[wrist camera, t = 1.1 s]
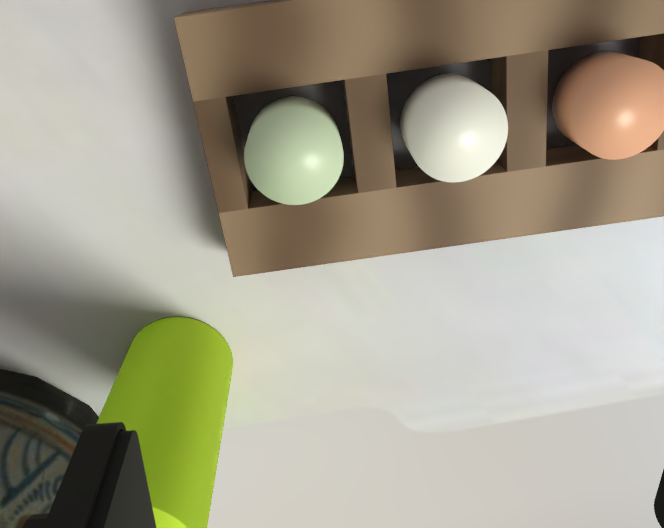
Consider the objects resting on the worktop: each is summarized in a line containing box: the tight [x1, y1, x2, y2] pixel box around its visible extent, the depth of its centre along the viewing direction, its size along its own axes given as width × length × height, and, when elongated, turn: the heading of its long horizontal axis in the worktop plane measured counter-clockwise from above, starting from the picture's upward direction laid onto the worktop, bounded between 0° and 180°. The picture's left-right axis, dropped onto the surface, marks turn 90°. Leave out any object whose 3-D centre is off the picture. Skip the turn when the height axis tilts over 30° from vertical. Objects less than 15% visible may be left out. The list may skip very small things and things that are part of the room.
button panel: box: [174, 0, 664, 277], centre depth 29 cm, size 22×12×2 cm, turn 97°
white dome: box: [400, 74, 508, 183], centre depth 27 cm, size 4×4×2 cm
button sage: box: [244, 96, 344, 205], centre depth 27 cm, size 4×4×2 cm
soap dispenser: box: [96, 317, 233, 528], centre depth 26 cm, size 6×7×20 cm
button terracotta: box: [552, 51, 664, 160], centre depth 27 cm, size 4×4×2 cm
